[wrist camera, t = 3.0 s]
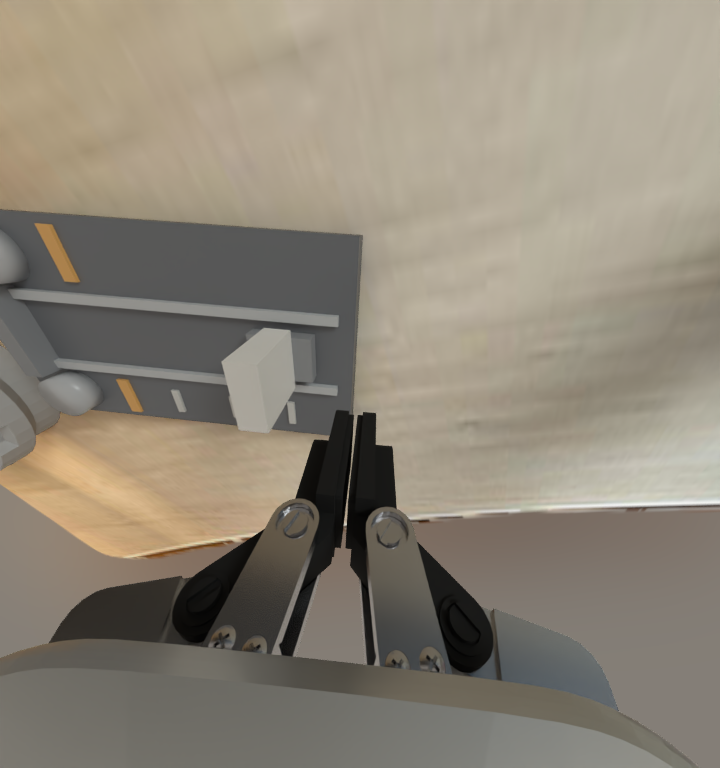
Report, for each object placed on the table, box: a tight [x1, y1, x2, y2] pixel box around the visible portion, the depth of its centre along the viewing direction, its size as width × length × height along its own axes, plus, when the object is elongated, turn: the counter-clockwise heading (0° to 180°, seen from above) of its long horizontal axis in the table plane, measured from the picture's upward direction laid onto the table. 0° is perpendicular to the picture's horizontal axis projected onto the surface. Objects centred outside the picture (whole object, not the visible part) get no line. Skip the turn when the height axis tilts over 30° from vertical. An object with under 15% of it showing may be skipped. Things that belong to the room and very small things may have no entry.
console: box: [0, 209, 363, 435], centre depth 17 cm, size 25×14×4 cm, turn 87°
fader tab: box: [221, 328, 316, 433], centre depth 14 cm, size 4×4×6 cm
